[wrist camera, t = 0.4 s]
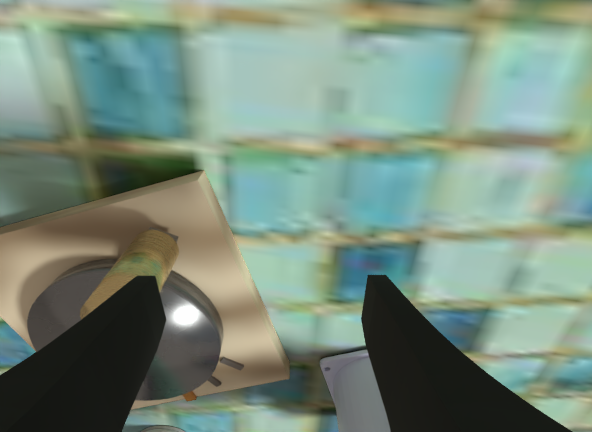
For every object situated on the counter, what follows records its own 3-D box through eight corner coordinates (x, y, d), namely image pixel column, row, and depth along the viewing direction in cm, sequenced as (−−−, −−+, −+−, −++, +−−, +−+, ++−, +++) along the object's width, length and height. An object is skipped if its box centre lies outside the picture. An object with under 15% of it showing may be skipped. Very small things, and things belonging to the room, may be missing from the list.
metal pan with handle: (191, 405, 27) (166, 504, 21) (36, 370, 24) (-41, 472, 19) (269, 252, 19) (261, 340, 14) (56, 177, 17) (-63, 248, 11)
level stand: (289, 362, 27) (289, 381, 26) (109, 398, 29) (100, 418, 28) (204, 170, 19) (196, 182, 17) (-43, 238, 21) (-69, 255, 19)
